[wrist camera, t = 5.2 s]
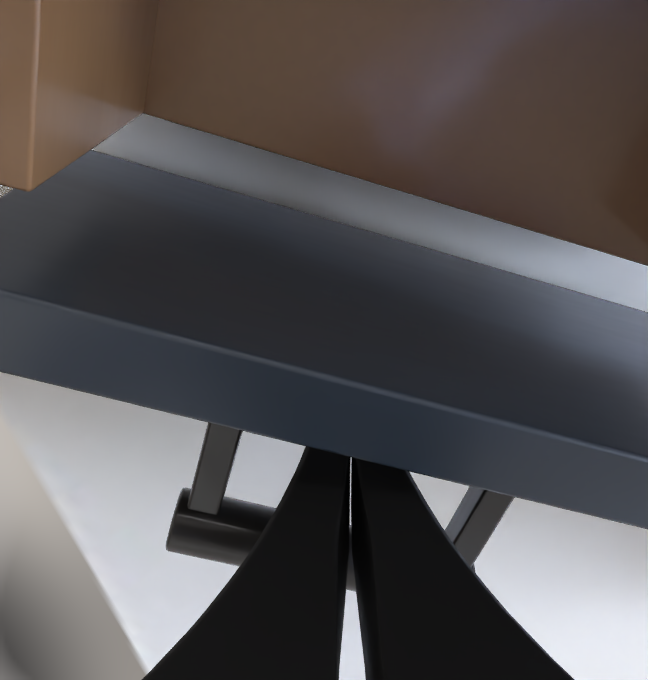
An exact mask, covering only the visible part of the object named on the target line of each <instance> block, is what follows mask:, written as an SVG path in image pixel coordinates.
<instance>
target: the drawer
mask: <svg viewBox="0 0 648 680" xmlns="http://www.w3.org/2000/svg"><path fill="white" fill-rule="evenodd" d="M142 113H144V114H147V115H150V116H154V117H157V118H160V119H164V120H167V121H170V122H174V123H177V124H180V125H183V126H187V127H190V128H193V129H197V130H200V131H203V132H207V133H210V134H213V135H217V136H220V137H223V138H226V139H230V140H233V141H236V142H240V143H243V144H246V145H250V146H253V147H256V148H260V149H263V150H266V151H269V152H273V153H276V154H279V155H283V156H286V157H289V158H293V159H296V160H299V161H303V162H306V163H309V164H312V165H316V166H319V167H322V168H326V169H329V170H332V171H336V172H339V173H342V174H346V175H349V176H352V177H355V178H359V179H362V180H365V181H369V182H372V183H375V184H379V185H382V186H385V187H389V188H392V189H395V190H398V191H402V192H405V193H408V194H412V195H415V196H418V197H422V198H425V199H428V200H432V201H435V202H438V203H441V204H445V205H448V206H451V207H455V208H458V209H461V210H465V211H468V212H471V213H475V214H478V215H481V216H485V217H488V218H491V219H494V220H498V221H501V222H504V223H508V224H511V225H514V226H518V227H521V228H524V229H528V230H531V231H534V232H537V233H541V234H544V235H547V236H551V237H554V238H557V239H561V240H564V241H567V242H571V243H574V244H577V245H580V246H584V247H587V248H590V249H594V250H597V251H600V252H604V253H607V254H610V255H614V256H617V257H620V258H623V259H627V260H630V261H633V262H637V263H640V264H643V265H647V266H648V0H0V184H1V185H4V186H8V187H11V188H14V189H13V190H11V191H9V192H8V193H6V194H5V195H3V196H2V197H0V372H3V373H8V374H12V375H16V376H20V377H24V378H28V379H32V380H36V381H40V382H45V383H49V384H53V385H57V386H61V387H65V388H69V389H73V390H77V391H81V392H86V393H90V394H94V395H98V396H102V397H106V398H110V399H114V400H118V401H123V402H127V403H131V404H135V405H139V406H143V407H147V408H151V409H155V410H160V411H164V412H168V413H172V414H176V415H180V416H184V417H188V418H192V419H197V420H201V421H205V422H208V425H207V429H206V433H205V437H204V441H203V445H202V449H201V453H200V457H199V461H198V465H197V469H196V473H195V477H194V481H193V485H192V488H191V489H190V488H183V489H182V490H181V492H180V495H179V498H178V501H177V504H176V508H175V511H174V515H173V518H172V522H171V526H170V529H169V533H168V537H167V541H166V550H168V551H170V552H175V553H180V554H184V555H189V556H193V557H198V558H203V559H207V560H212V561H217V562H221V563H226V564H231V565H235V566H240V565H241V564H242V563H243V561H244V560H245V558H246V557H247V555H248V554H249V552H250V551H251V549H252V548H253V546H254V545H255V543H256V542H257V540H258V539H259V537H260V535H261V534H262V532H263V530H264V529H265V527H266V525H267V524H268V522H269V520H270V519H271V517H272V515H273V514H274V512H275V510H276V508H273V507H268V506H264V505H259V504H255V503H251V502H246V501H242V500H238V499H233V498H229V497H224V494H225V491H226V487H227V484H228V480H229V477H230V473H231V470H232V466H233V463H234V460H235V456H236V453H237V449H238V446H239V442H240V439H241V436H242V432H243V431H246V432H250V433H254V434H258V435H262V436H266V437H271V438H275V439H279V440H283V441H287V442H291V443H295V444H299V445H303V446H307V447H312V448H316V449H320V450H324V451H328V452H332V453H336V454H340V455H344V456H349V457H353V458H357V459H361V460H365V461H369V462H373V463H377V464H381V465H386V466H390V467H394V468H398V469H402V470H406V471H410V472H414V473H418V474H423V475H427V476H431V477H435V478H439V479H443V480H447V481H451V482H455V483H460V484H464V485H468V486H470V487H469V489H468V491H467V492H466V494H465V496H464V498H463V499H462V501H461V503H460V505H459V507H458V508H457V510H456V512H455V514H454V515H453V517H452V519H451V521H450V522H449V524H448V526H447V528H446V530H445V532H446V534H447V535H448V537H449V538H450V540H451V541H452V543H453V544H454V545H455V547H456V548H457V550H458V551H459V552H460V554H461V555H462V556H463V558H464V559H465V560H466V562H467V563H468V564H469V566H470V567H471V568H472V570H473V571H474V572H475V567H474V562H475V560H476V559H477V557H478V555H479V554H480V552H481V551H482V549H483V547H484V546H485V544H486V543H487V541H488V539H489V538H490V536H491V535H492V533H493V531H494V530H495V528H496V527H497V525H498V523H499V522H500V520H501V518H502V517H503V515H504V514H505V512H506V510H507V509H508V507H509V506H510V504H511V502H512V501H513V499H514V498H515V497H517V498H521V499H525V500H529V501H533V502H538V503H542V504H546V505H550V506H554V507H558V508H562V509H566V510H570V511H575V512H579V513H583V514H587V515H591V516H595V517H599V518H603V519H607V520H612V521H616V522H620V523H624V524H628V525H632V526H636V527H640V528H644V529H648V312H645V311H641V310H638V309H634V308H631V307H627V306H624V305H621V304H617V303H614V302H610V301H607V300H603V299H600V298H597V297H593V296H590V295H586V294H583V293H579V292H576V291H573V290H569V289H566V288H562V287H559V286H555V285H552V284H549V283H545V282H542V281H538V280H535V279H531V278H528V277H525V276H521V275H518V274H514V273H511V272H507V271H504V270H501V269H497V268H494V267H490V266H487V265H484V264H480V263H477V262H473V261H470V260H466V259H463V258H460V257H456V256H453V255H449V254H446V253H442V252H439V251H436V250H432V249H429V248H425V247H422V246H418V245H415V244H412V243H408V242H405V241H401V240H398V239H394V238H391V237H388V236H384V235H381V234H377V233H374V232H370V231H367V230H364V229H360V228H357V227H353V226H350V225H346V224H343V223H340V222H336V221H333V220H329V219H326V218H322V217H319V216H316V215H312V214H309V213H305V212H302V211H298V210H295V209H292V208H288V207H285V206H281V205H278V204H274V203H271V202H268V201H264V200H261V199H257V198H254V197H251V196H247V195H244V194H240V193H237V192H233V191H230V190H227V189H223V188H220V187H216V186H213V185H209V184H206V183H203V182H199V181H196V180H192V179H189V178H185V177H182V176H179V175H175V174H172V173H168V172H165V171H161V170H158V169H155V168H151V167H148V166H144V165H141V164H137V163H134V162H131V161H127V160H124V159H120V158H117V157H113V156H110V155H107V154H103V153H100V152H96V151H93V150H91V149H92V148H94V147H95V146H97V145H98V144H100V143H101V142H102V141H104V140H105V139H107V138H108V137H110V136H111V135H113V134H114V133H115V132H117V131H118V130H120V129H121V128H123V127H124V126H125V125H127V124H128V123H130V122H131V121H133V120H134V119H135V118H137V117H138V116H140V115H141V114H142ZM346 589H347V590H351V591H356V585H355V576H354V567H353V558H352V526H351V525H349V560H348V571H347V583H346Z"/></svg>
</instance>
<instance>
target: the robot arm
mask: <svg viewBox="0 0 648 680" xmlns="http://www.w3.org/2000/svg"><path fill="white" fill-rule="evenodd" d="M349 515H350V457H349V456H344V455H340V454H336V453H332V452H328V451H324V450H320V449H316V448H312V447H307V446H306V447H305V450H304V452H303V455H302V457H301V460H300V462H299V464H298V467H297V469H296V471H295V473H294V475H293V477H292V479H291V481H290V483H289V485H288V487H287V489H286V491H285V493H284V495H283V497H282V499H281V501H280V503H279V505H278V507H277V508H276V510H275V512H274V514H273V515H272V517H271V519H270V520H269V522H268V524H267V525H266V527H265V529H264V530H263V532H262V534H261V535H260V537H259V539H258V540H257V542H256V543H255V545H254V546H253V548H252V549H251V551H250V552H249V554H248V555H247V557H246V558H245V560H244V561H243V563H242V564H241V565H240V567H239V568H238V569H237V571H236V572H235V574H234V575H233V576H232V578H231V579H230V580H229V582H228V583H227V584H226V586H225V587H224V588H223V589H222V591H221V592H220V593H219V594H218V596H217V597H216V598H215V600H214V601H213V602H212V603H211V605H210V606H209V607H208V608H207V610H206V611H205V612H204V613H203V614H202V616H201V617H200V618H199V619H198V620H197V621H196V623H195V624H194V625H193V626H192V627H191V628H190V629H189V631H188V632H187V633H186V634H185V635H184V636H183V637H182V638H181V639H180V640H179V641H178V642H177V643H176V644H175V646H174V647H173V648H172V649H171V650H170V651H169V652H168V653H167V654H166V655H165V656H164V657H163V658H162V659H161V660H160V662H159V663H158V664H157V665H156V666H155V667H154V668H153V669H152V670H151V671H150V672H149V673H148V674H147V675H146V676H145V677H144V678H143V679H142V680H339V664H340V652H341V641H342V629H343V618H344V606H345V595H346V583H347V571H348V560H349ZM351 525H352V558H353V567H354V576H355V585H356V594H357V603H358V611H359V620H360V629H361V637H362V646H363V655H364V664H365V675H366V680H574V679H573V678H572V677H571V676H570V675H569V674H568V673H567V672H566V671H565V670H564V669H563V668H562V667H561V666H560V665H558V664H557V663H556V662H555V661H554V660H553V659H552V658H551V657H550V656H549V655H548V654H547V653H546V651H545V650H544V649H543V648H542V647H541V646H540V645H539V644H538V643H537V642H536V641H535V640H534V639H533V638H532V637H531V636H530V635H529V634H528V633H527V632H526V631H525V630H524V629H523V627H522V626H521V625H520V624H519V623H518V622H517V621H516V620H515V619H514V618H513V617H512V616H511V615H510V614H509V613H508V612H507V611H506V609H505V608H504V607H503V606H502V605H501V604H500V602H499V601H498V600H497V599H496V598H495V596H494V595H493V594H492V593H491V592H490V591H489V589H488V588H487V587H486V586H485V585H484V583H483V582H482V581H481V580H480V578H479V577H478V576H477V575H476V573H475V572H474V571H473V570H472V568H471V567H470V566H469V564H468V563H467V562H466V560H465V559H464V558H463V556H462V555H461V554H460V552H459V551H458V550H457V548H456V547H455V545H454V544H453V543H452V541H451V540H450V538H449V537H448V535H447V534H446V532H445V531H444V529H443V528H442V526H441V525H440V523H439V522H438V520H437V519H436V517H435V515H434V514H433V512H432V511H431V509H430V507H429V506H428V504H427V502H426V501H425V499H424V497H423V495H422V494H421V492H420V490H419V489H418V487H417V485H416V483H415V482H414V480H413V478H412V476H411V474H410V472H409V471H406V470H402V469H398V468H394V467H390V466H386V465H381V464H377V463H373V462H369V461H365V460H361V459H357V458H353V457H352V480H351Z"/></svg>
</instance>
